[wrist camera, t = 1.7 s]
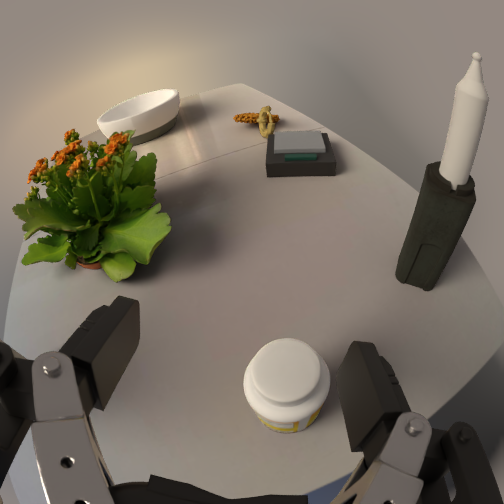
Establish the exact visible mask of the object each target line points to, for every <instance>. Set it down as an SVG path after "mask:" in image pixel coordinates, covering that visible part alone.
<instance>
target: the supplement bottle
mask: <svg viewBox="0 0 504 504" xmlns="http://www.w3.org/2000/svg"><path fill="white" fill-rule="evenodd" d="M243 383H244V392H245V395H246V398H247V400H248V402H249V404H250V406H251V407H252V408H253V410H254V411H255V413H256V414H257V416H258V417H259V419H260V420H261V421H262V423H263V424H264V425H265V426H267V427H268V428H270V429H271V430H273V431H276V432H279V433H295V432H298V431H301V430H303V429H305V428H306V427H308V426H309V425H310V424H311V423H312V422H313V421H314V420H315V418H316V417H317V415H318V413H319V411H320V409H321V407H322V406H323V404H324V402H325V400H326V398H327V395H328V392H329V388H330V374H329V369H328V367H327V365H326V363H325V361H324V359H323V358H322V357H321V356H320V355H319V354H318V353H317V352H316V351H315V350H314V349H313V348H312V347H311V346H310V345H308V344H307V343H305V342H303V341H301V340H298V339H293V338H282V339H277V340H274V341H271V342H269V343H268V344H266V345H265V346H263V347H262V348H261V349H260V350H259V351H258V353H257V354H256V355H255V356H254V358H253V359H252V360H251V361H250V363H249V365H248V367H247V369H246V372H245V375H244V382H243Z"/></svg>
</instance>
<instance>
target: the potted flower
mask: <svg viewBox="0 0 504 504" xmlns="http://www.w3.org/2000/svg"><path fill="white" fill-rule="evenodd" d="M135 131H136V129H135V130H127V131H125V132H123V131H121V133H120V134H119V133H118V132H114V133H113V134H112V135H111V136H110V138H109V139H107V145H105V144H101V145H100V146H99V145H98V144H97V142H92V141H88V148H87V150H88V151H90V152H91V153H90V155H91V158H90V159H89V160H87V156H86V155H87V153H88V151H87V152H86V153H83V152H84V151H85V147H84V148H83V146H82V145H81V146H80V143H81V142H82V140H79V138H78V137H79V134H78V133H76V132H75V129H72V130H71V131H67V132H66V133H65V138H64V141H65V144H66V145H68V146H67V147H65V148H64V149H63V150H61V151H59V152H58V151H56V152H55V153H54V155H53V157H52V158H51V161H53V160H55V159H56V160H55V163H56V164H55V165H54V166H52V167H51V168H48V159H47V158H43V159H40V160H38V161H37V163H36V167H35V168H34V169H33V170H31V171H30V173H29V176H28V182H27V183H28V184H29V183H30V181H31V180H33V182H34V183H39V182H40V181H41V183H43V182H44V181H46V184H42V185H46V187H48V188H47V189H46V193H47V195H48V197H47V198H42V199H40V195H39V194H38V192H39V188H37V187H35V188H34V187H33V186H31V190H32V192H31V193H27V196H28V198H24V200H25V204H16V206H14V207H13V208H12V209H13V212H14V214H15V215H18V218H19V219H21V220H23V221H25V222H26V223H25V224H24V225H23V226H22V230H23V231H27V233H26V234H25V235H24V236H25V237H24V239H25V240H27V239H29V238H30V237H31V236H32V235H33V234H34V233H36V232H37V231H39V230H41V231H44V232H48V233H49V234H51V235H52V237H51V236H49V235H47V236H46V238H45V237H44V238H43V237H42V238H38V239H37V241H38V244H36V243H33V244H32V245H30V246H29V247H28V250H29V252H28V253H27V254H25V255H24V257H23V259H22V264H23V265H25V266H26V265H29V264H34V263H38V262H42V261H44V262H52V263H53V262H59V261H61V260H62V259H63V258H64V257H65V255H66V254H67V253H69V255H67V256H66V261H65V265H67V266H69V267H72V268H71V269H75V267H76V262H77V263H78V264H79V265H81V266H82V267H84V268H89V269H99V268H103V270H104V271H105V272H106V273H107V275H108V276H109V277H110V278H111V279H112V280H113V281H114V282H117V283H118V281H121V280H122V279H126V278H128V277H130V276H131V275H132V274H133V272H134V270H135V266H136V262H135V261H134V260H136V261H138V262H139V263H142V264H145V265H148V264H149V262H150V259H151V257H152V255H153V253H154V251H155V249H156V248H157V247H158V246H159V245H160V243H161V242H162V241H163V240H164V239H165V237H166V236H167V235H168V234H169V232H170V231H171V228H172V226H168V225H169V224H170V222H171V218H170V217H169V216H167V215H168V214H167V213H164V212H161V213H159V214H158V212H159V211H160V210H161V203H158V204H156V205H155V206H154V207H152V208H151V209H148V208H149V207H151V206H152V205H153V204H152V203H153V202H155V201H156V199H155V198H153V197H154V194H155V192H156V191H157V190H156V189H154V187H155V184H156V183H155V181H154V179H155V171H156V163H157V159H156V155H155V154H154V153H148V154H147V156H142V157H141V158H140V159H139V161H136V158H137V152H136V151H134V150H133V151H131V149H132V147H133V143H130V138H131V137H132V136H133V135H134V133H135ZM98 148H99V149H98ZM97 150H98V151H99V152H97ZM130 151H131V152H130ZM94 153H97V156H98V158H97V157H95V156H94ZM92 157H95V158H92ZM92 159H93V160H92ZM90 160H92V161H91V164H90V165H88V164H89V163H90ZM43 162H45V163H44V164H43ZM90 167H92V169H90ZM87 170H88V172H87ZM49 188H50V189H49ZM37 194H38V195H39V199H38V197H37ZM30 197H31V198H30ZM67 240H68V241H71V242H67ZM133 259H134V260H133Z"/></svg>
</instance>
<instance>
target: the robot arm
mask: <svg viewBox="0 0 504 504" xmlns="http://www.w3.org/2000/svg"><path fill="white" fill-rule="evenodd" d="M139 339H140V308H139V301H138V300H134V299H130V298H127V297H123V296H118V297H117V298H116V299H115V300H114V301H113V303H112V304H111V305H110V306H106V305H103V306H101V307H99V308H97V309H96V310H94V311H92V313H91V314H90V315H89V316H88V317H87V318H86V321H84V322H83V323H82V324H81V325H80V328H79V327H78V329H77V330H76V331H75V332H74V333H73V335H72V336H71V337H70V338H69V339H68V341H67V342H66V343H65V344H64V345H63V347H62V348H61V349H60V350H59V351H58V352H46V353H43V354H41V355H40V356H38V357H37V358H36V359H35V360H27V359H22V358H16V357H14V354H13V352H12V349H11V348H10V346H9V345H7V344H5V343H2V342H0V488H1V486H2V484H3V481H4V479H5V477H6V474H7V472H8V470H9V468H10V466H11V464H12V462H13V459H14V457H15V455H16V453H17V451H18V449H19V447H20V445H21V443H22V441H23V439H24V437H25V435H26V434H27V432H28V430H29V428H30V426H31V430H32V437H33V443H34V449H35V454H36V459H37V464H38V468H39V473H40V477H41V481H42V485H43V488H44V492H45V495H46V499H47V502H48V504H308V496H307V495H265V496H258V497H250V498H241V499H227V498H224V497H221V496H218V495H215V494H213V493H210V492H208V491H205V490H203V489H200V488H198V487H195V486H193V485H191V484H188V483H183V482H179V481H174V480H170V479H166V478H162V477H159V476H155V475H152V474H151V475H150V479H149V482H128V483H122V484H118V485H115V484H114V481H113V479H112V477H111V474H110V472H109V470H108V468H107V466H106V463H105V461H104V458H103V456H102V453H101V450H100V447H99V444H98V441H97V438H96V435H95V432H94V429H93V426H92V423H91V419H90V416H89V414H90V412H91V410H92V408H93V407H94V408H97V409H99V410H102V411H104V409H105V407H106V405H107V403H108V401H109V399H110V397H111V395H112V393H113V392H114V390H115V388H116V386H117V384H118V382H119V380H120V378H121V376H122V375H123V373H124V371H125V369H126V367H127V365H128V363H129V362H130V360H131V358H132V356H133V354H134V353H135V351H136V349H137V347H138V343H139ZM336 385H337V389H338V393H339V398H340V402H341V406H342V411H343V415H344V419H345V424H346V428H347V433H348V438H349V442H350V447H351V452H363V453H364V457H363V458H362V459H361V460H360V462H359V463H358V465H357V467H356V468H355V470H354V472H353V473H352V475H351V476H350V478H349V479H348V481H347V482H346V484H345V485H344V487H343V488H342V490H341V491H340V493H339V494H338V495H337V496H336V498H335V499H334V500H333V501H332V502H331V503H330V504H503V501H502V497H501V494H500V491H499V488H498V485H497V483H496V480H495V477H494V474H493V472H492V469H491V466H490V464H489V461H488V459H487V456H486V454H485V451H484V449H483V447H482V444H481V442H480V440H479V437H478V435H477V433H476V431H475V430H474V429H473V427H471V426H470V425H469V424H467V423H464V422H457V423H454V424H453V425H452V426H451V427H450V428H449V430H448V431H444V430H439V429H434V428H431V426H430V424H429V422H428V421H427V419H426V418H425V417H423V416H422V415H420V414H418V413H415V412H411V409H410V407H409V405H408V402H407V400H406V398H405V396H404V393H403V391H402V389H401V387H400V385H399V382H398V380H397V378H396V377H395V373H394V371H393V369H392V367H391V365H390V364H389V363H388V362H387V361H386V360H385V359H384V358H383V356H379V354H378V352H377V350H376V347H375V345H374V344H373V343H370V342H361V341H353V342H352V344H351V345H350V347H349V349H348V351H347V354H346V356H345V358H344V360H343V362H342V364H341V366H340V368H339V370H338V373H337V378H336ZM449 471H451V474H452V477H453V481H454V484H455V488H456V496H455V498H454V500H453V501H452V502H451V501H450V497H449V493H448V489H447V486H446V483H445V479H444V475H446V474H447V473H448V472H449ZM0 504H3V501H2V498H1V496H0Z"/></svg>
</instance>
